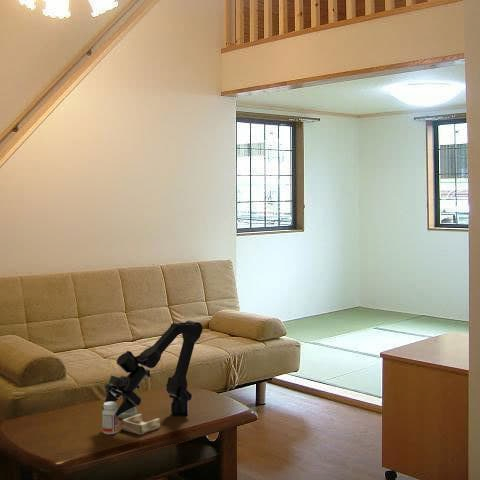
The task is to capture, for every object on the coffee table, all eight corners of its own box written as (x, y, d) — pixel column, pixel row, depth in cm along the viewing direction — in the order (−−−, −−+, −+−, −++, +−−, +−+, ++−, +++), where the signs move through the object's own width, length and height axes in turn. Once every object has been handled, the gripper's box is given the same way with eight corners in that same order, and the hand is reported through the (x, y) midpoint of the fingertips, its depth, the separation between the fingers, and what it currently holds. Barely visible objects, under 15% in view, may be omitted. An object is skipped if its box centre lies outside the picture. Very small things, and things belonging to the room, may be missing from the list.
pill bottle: (116, 428, 266) (116, 400, 265) (120, 433, 260) (120, 404, 259) (100, 430, 263) (100, 402, 262) (104, 435, 257) (104, 406, 257)
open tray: (140, 422, 273) (140, 413, 273) (159, 427, 267) (159, 418, 266) (121, 429, 264) (121, 420, 264) (140, 434, 258) (140, 425, 258)
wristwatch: (139, 415, 282) (139, 404, 281) (133, 420, 276) (133, 408, 275) (119, 414, 284) (119, 402, 284) (113, 418, 278) (112, 406, 278)
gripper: (108, 363, 270) (84, 395, 264) (134, 371, 257) (109, 406, 250) (125, 379, 276) (101, 411, 269) (151, 388, 262) (127, 422, 255)
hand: (109, 412), depth 261 cm, fingers open, 9 cm apart
